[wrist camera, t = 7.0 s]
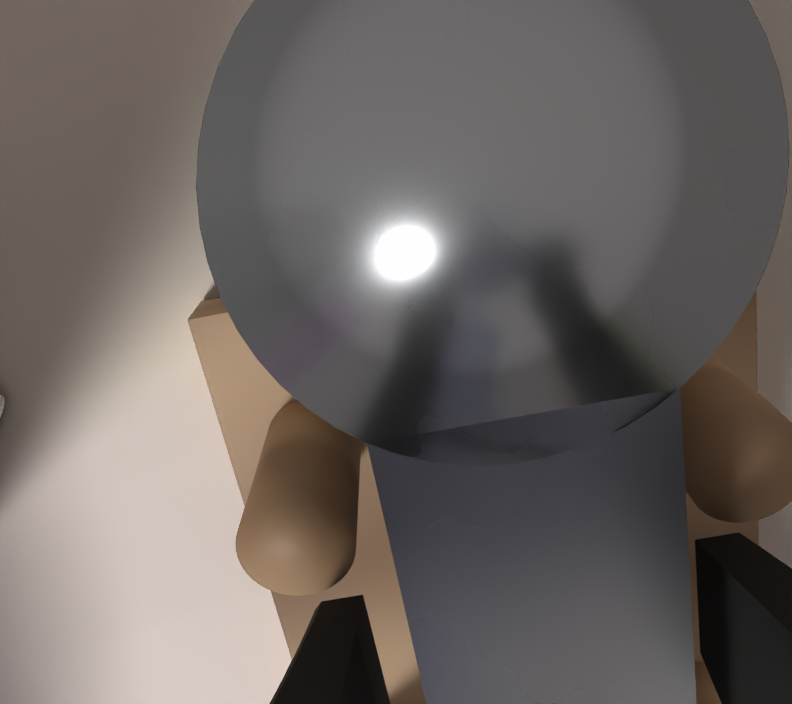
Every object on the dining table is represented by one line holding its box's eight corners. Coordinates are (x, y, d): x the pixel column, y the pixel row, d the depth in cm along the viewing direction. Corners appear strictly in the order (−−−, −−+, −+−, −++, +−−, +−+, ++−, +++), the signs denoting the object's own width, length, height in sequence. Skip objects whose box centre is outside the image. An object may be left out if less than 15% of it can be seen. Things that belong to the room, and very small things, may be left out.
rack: (739, 729, 17) (841, 921, 13) (346, 789, 17) (337, 990, 14) (727, 202, 12) (875, 264, 9) (201, 300, 13) (128, 400, 9)
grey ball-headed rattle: (669, 839, 17) (783, 1144, 12) (447, 872, 17) (473, 1183, 12) (599, -81, 10) (792, -204, 5) (235, -6, 10) (114, -58, 6)
